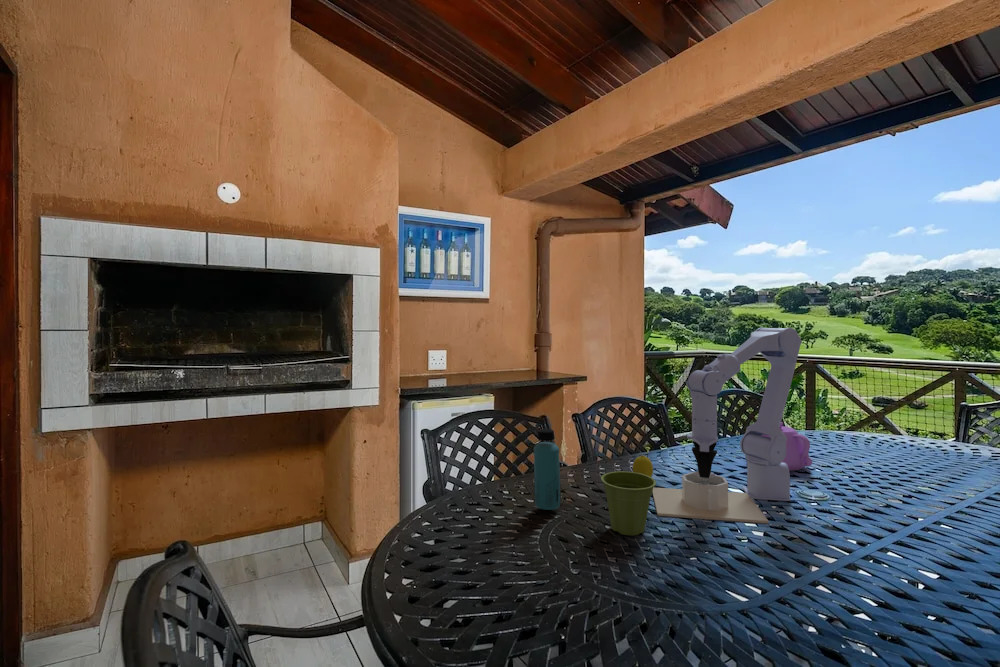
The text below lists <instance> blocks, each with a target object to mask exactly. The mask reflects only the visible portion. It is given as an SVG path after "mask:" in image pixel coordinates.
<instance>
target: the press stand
mask: <svg viewBox="0 0 1000 667" xmlns="http://www.w3.org/2000/svg"><path fill="white" fill-rule="evenodd" d="M695 472H696V471H692V472H688V473H684V474H682V475H681V485H682V486H681V488H667V487H653V491H652V497H653V501H654V505H655V506H654V507H655V510H656V514H657V517H659V516H660V517H673V518H687V519H700V520H716V521H728V522H738V523H739V522H740V523H741V522H742V523H743V522H744V523H745V522H746V523H755V524H769V523H770V521H769V520H768V518H767V517H766V515H765V514H764V513H763V512H762V510H761V509H760V508H759V507H758V506H757V504H756V503H755V501H754V499H751V497H750V496H749V495H748V494H747V493H746V492H734V491H733V492H732V491H729V483H728V480H727V479H726V477H724V476H721V475H717V474H715V477H714V478H711V479H707V483H712V484H715V485H704V484H697V483H694V482H702V478H699V477H697V476H695Z"/></svg>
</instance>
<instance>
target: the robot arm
mask: <svg viewBox="0 0 1000 667" xmlns="http://www.w3.org/2000/svg"><path fill="white" fill-rule="evenodd" d="M801 345H802V339H801V337H800V335H799V333H798V332H797V330H796V329H794V328H793V327H786V328H782V327H779V328H778V327H759V328H757V329H755V331H753V332H751V333H750V336H749V338H748V339H747V340H746V341H744V342H743V343H742V344H741V345H739V346H738V347H737V348H736V349H735V350H734V351H733V352H731V353H719V354H718V355H716V357H717V358H716V359H714V360H712V361H711V362H710V363H709V364H706V365H704V366H703V368H702V369H701V370H700V369H697V370H694V371H692V372H691V373H690V375H689V376H688V379H687V380H686V382H685V383H686V387H687V390H689V392H690V395H689V396H690V398H691V434H686V435H687V436H686V438H687V439H688V440H692V444H693V446H692V447H691V452H692V453H693V455H694V458H695V461H696V465H697V466H696V467H697V471H699V475H700V477H704V478H709V477H710V473H711V472H712V466H713V463H714V460H715V457H716V456H717V454H718V450H717V449H715V448H716V446H717V445H718V444H717V442H718V441H719V438H718V394H720V393H721V392H722V390H723V388H724V385H725V384H726V382H728V381H729V380H730V379H731V378H733V377H735V375H736V374H738V373H739V372H740V370H741V365H742V364H744V363H745V362H747V361H748V360H750V359H752V358H753V357H755V356H757V355H758V354H760V355H762V356H763V357H764V359H766V360H767V361H768V362H769V364H770V365H771V367H770V369H769V373H768V378H767V380H766V384H765V389H764V391H763V392H764V393H763V395H762V399H761V403H760V406H759V411H758V415H757V418H756V421H755V422H754V423H751V424H750V425H748V426H747V428H746V430H745V433H744V434H743V436H742V437H741V439H740V442H739V446H740V447H739V448H740V450H741V452H742V454H744V459H746V462H747V466H746V469H747V472H746V474H747V475H746V476H747V477H746V478H747V480H746V482H747V484H746V485H747V486H742V490H743V491H744V493H747V494H748V495H749V496H750V497H751V499H752V500H765V501H766V500H767V501H781V502H782V501H783V502H784V501H785V502H786V501H787V502H791V501H792V500H791V498H790V497H791V493H790V492H791V491H790V490H791V485H790V484H791V482H790V481H791V478H790V477H791V475H790V471H789V468H788V466H787V464H786V463H784V462H782V461H783V460H784V458H785V456H786V441H787V437H786V436H785V434H784V433H783V432H782V431H781V430H780V424H781V422H782V420H783V416H784V411H785V409H786V408H785V407H786V404H787V401H788V397H789V393H790V389H791V385H792V382H793V381H792V380H793V377H794V375H795V374H794V373H795V370H796V367H797V366H796V365H797V360H798V357H799V353H800V348H801ZM761 435H768V436H770V437H771V438H769V437H765V436H761Z"/></svg>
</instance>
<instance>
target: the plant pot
mask: <svg viewBox="0 0 1000 667" xmlns="http://www.w3.org/2000/svg"><path fill="white" fill-rule="evenodd" d="M600 481H601V482H602V483H603V487H604V491H605V494H606V501H607V508H608V513H609V514H608V515H609V521H610V528H611V529H612V531H614V532H618V533H619V534H620V535H623V536H632V537H634V536H638V535H640V534H641V533H642V534H643V533H644V532H645V529H646V523H647V520H648V519H647V518H648V514H649V513H648V512H649V506H650V501H651V497H652V496H653V493H652V491H653V488H655V487H656V485H657V481H656V480H655V478H653V476H652V477H650V476H647V475H644V474H641V473H635V472H633V471H622V470H619V471H610V472H606V473H604V474H603V475H601V476H600Z"/></svg>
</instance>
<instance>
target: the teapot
mask: <svg viewBox="0 0 1000 667" xmlns="http://www.w3.org/2000/svg"><path fill="white" fill-rule="evenodd" d="M747 427H748V426H747ZM747 427H745V428H746V429H747ZM780 430H781V431H782V432H783V433H784V434H785V436H786V437H787V441H786V456H785V458H784V460H783V461H782V462H784V463H786V464H787V466H788V468H789V472H790V471H799V470H802V469H803V468H805V467H811V466H812V465H813V460H812V458H811V457H810V455H809V452H810V447H811V444H810V439H809V438H808V437H806V435H803V434H800V433H798V432H797V430H796V429H795V428H792V427H788V426H784V422H783V421H781V424H780ZM761 436H765V437H769V438H771V437H770V436H768V435H761Z"/></svg>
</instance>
